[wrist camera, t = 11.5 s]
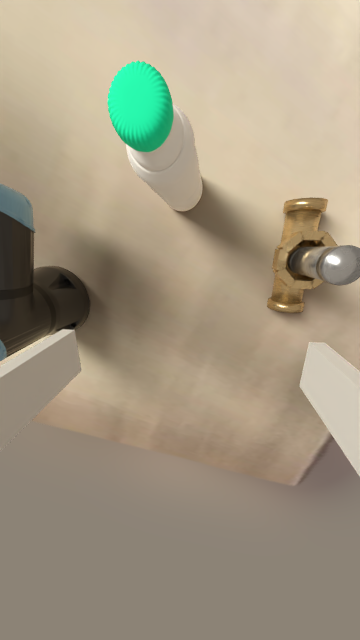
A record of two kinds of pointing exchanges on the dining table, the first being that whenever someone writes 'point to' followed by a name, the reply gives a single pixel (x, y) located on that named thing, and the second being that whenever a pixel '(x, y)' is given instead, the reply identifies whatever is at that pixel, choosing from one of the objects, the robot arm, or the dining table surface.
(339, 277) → the metal cylinder
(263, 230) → the dining table surface
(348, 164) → the dining table surface
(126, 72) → the water bottle
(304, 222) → the tee fitting
